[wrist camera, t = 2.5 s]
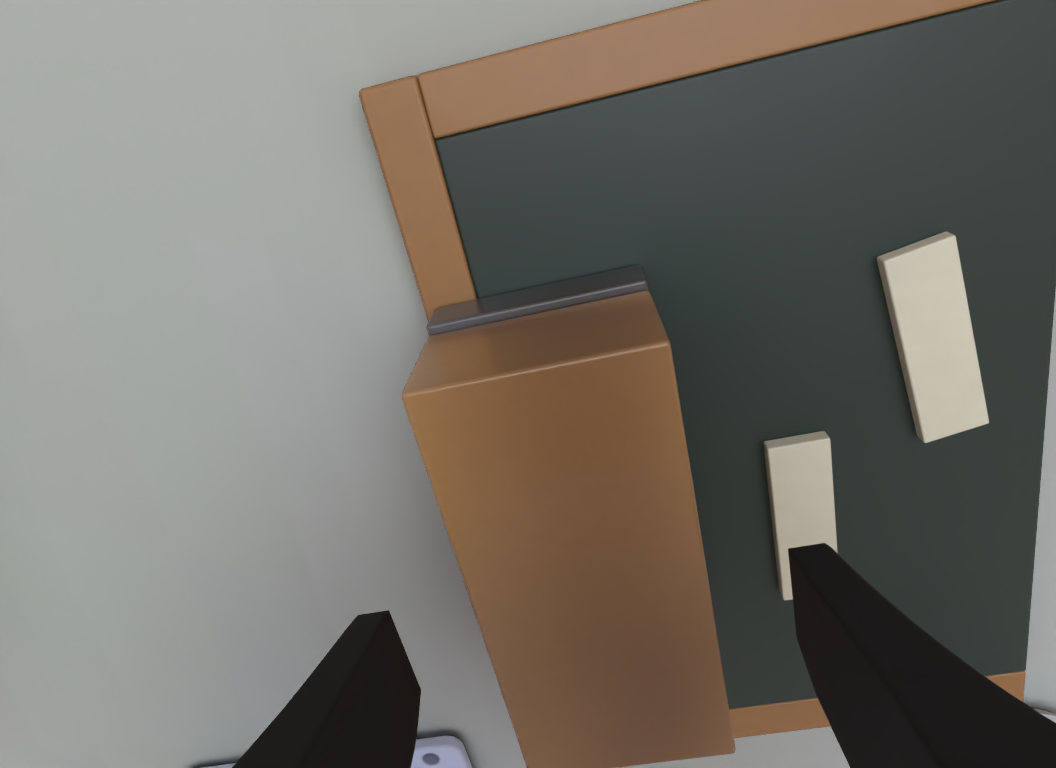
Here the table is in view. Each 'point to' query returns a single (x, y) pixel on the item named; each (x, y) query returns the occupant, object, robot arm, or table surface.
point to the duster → (575, 518)
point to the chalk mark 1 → (799, 497)
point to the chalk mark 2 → (934, 336)
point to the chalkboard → (781, 273)
